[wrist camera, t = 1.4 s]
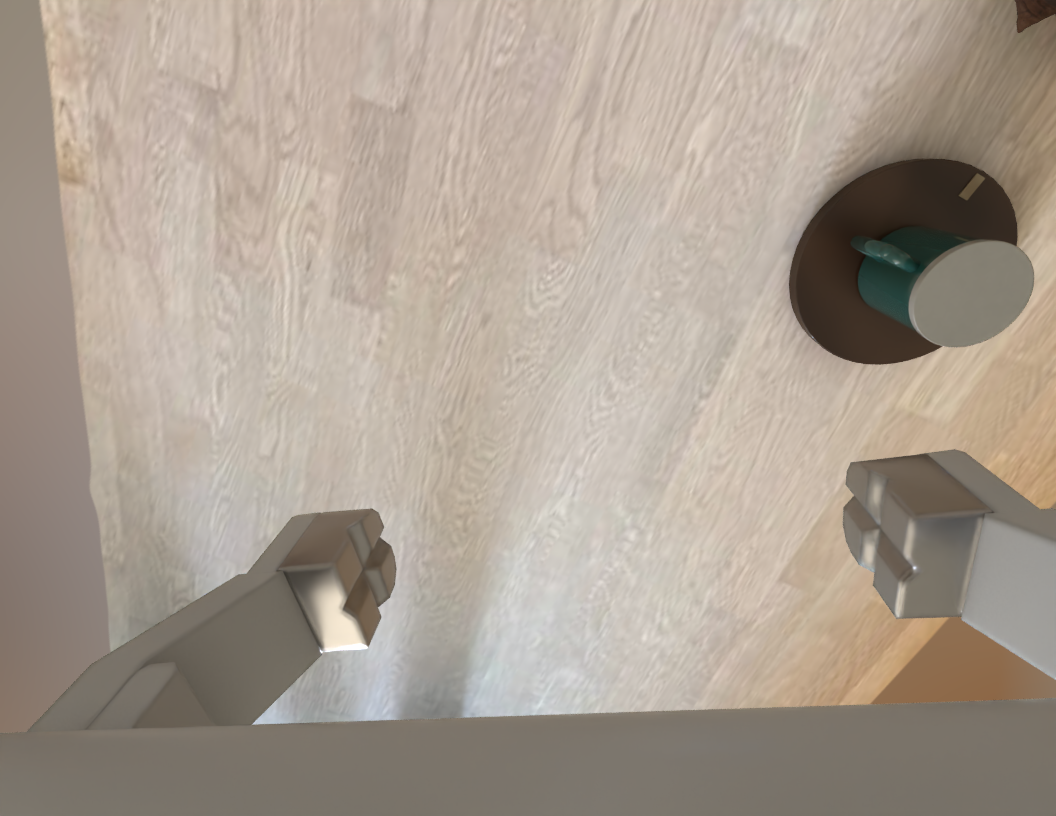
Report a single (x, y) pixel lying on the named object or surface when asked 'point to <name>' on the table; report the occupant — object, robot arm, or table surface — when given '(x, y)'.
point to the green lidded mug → (945, 283)
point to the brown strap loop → (1033, 12)
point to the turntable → (876, 211)
